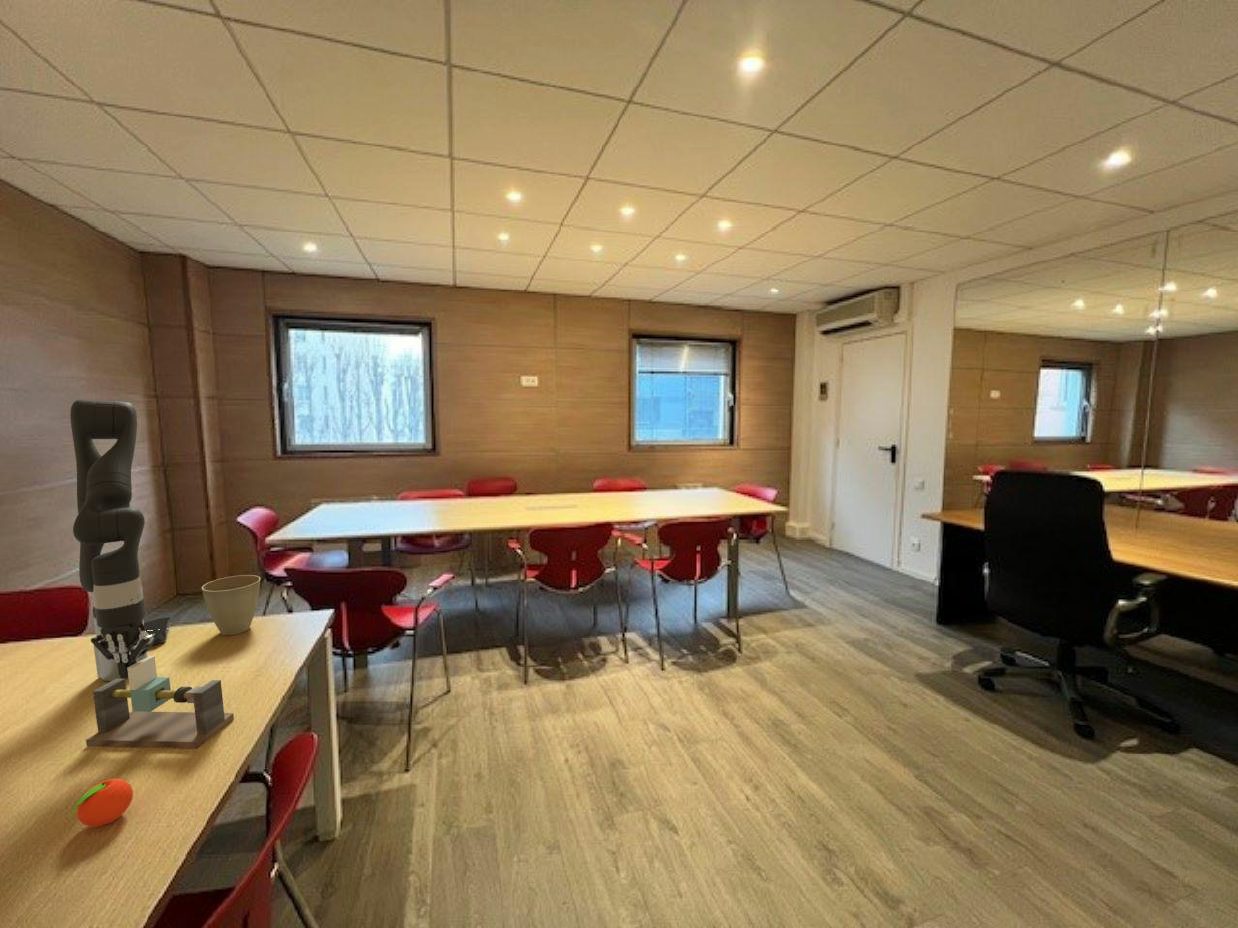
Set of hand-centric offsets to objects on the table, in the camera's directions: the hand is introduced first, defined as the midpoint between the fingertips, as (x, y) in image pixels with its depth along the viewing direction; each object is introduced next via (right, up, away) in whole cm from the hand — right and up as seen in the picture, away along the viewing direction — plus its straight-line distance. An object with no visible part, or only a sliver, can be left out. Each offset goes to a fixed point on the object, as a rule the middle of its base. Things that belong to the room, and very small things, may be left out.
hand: (128, 676), depth 111 cm
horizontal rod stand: (+6, -13, +2) cm, 14 cm away
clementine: (+18, -16, -22) cm, 33 cm away
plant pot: (-16, -7, +52) cm, 55 cm away
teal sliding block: (+4, -7, +1) cm, 8 cm away
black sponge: (-38, -8, +46) cm, 60 cm away
